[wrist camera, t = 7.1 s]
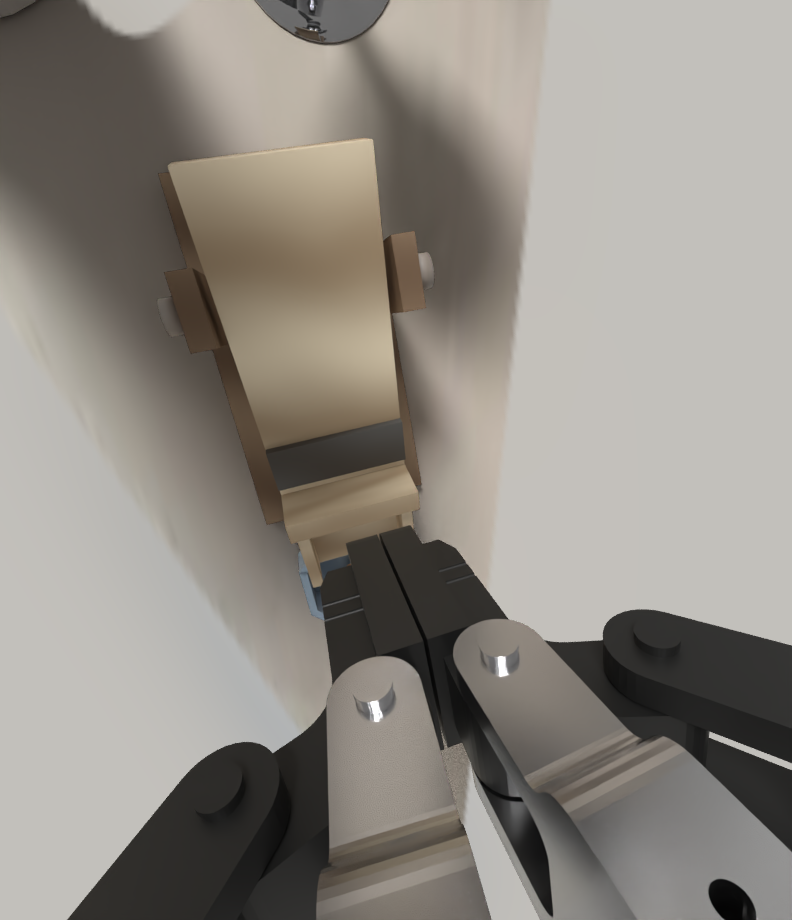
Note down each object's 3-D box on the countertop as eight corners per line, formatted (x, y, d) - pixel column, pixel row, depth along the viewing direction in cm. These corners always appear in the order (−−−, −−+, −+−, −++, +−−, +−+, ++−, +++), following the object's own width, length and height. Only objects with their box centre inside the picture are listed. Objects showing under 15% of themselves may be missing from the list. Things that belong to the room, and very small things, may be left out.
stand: (164, 180, 20) (74, 77, 11) (359, 154, 21) (407, 46, 13) (267, 517, 25) (258, 613, 17) (416, 478, 27) (475, 549, 19)
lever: (172, 162, 13) (157, 173, 10) (363, 138, 14) (391, 143, 11) (303, 548, 23) (311, 599, 21) (404, 520, 24) (424, 566, 22)
